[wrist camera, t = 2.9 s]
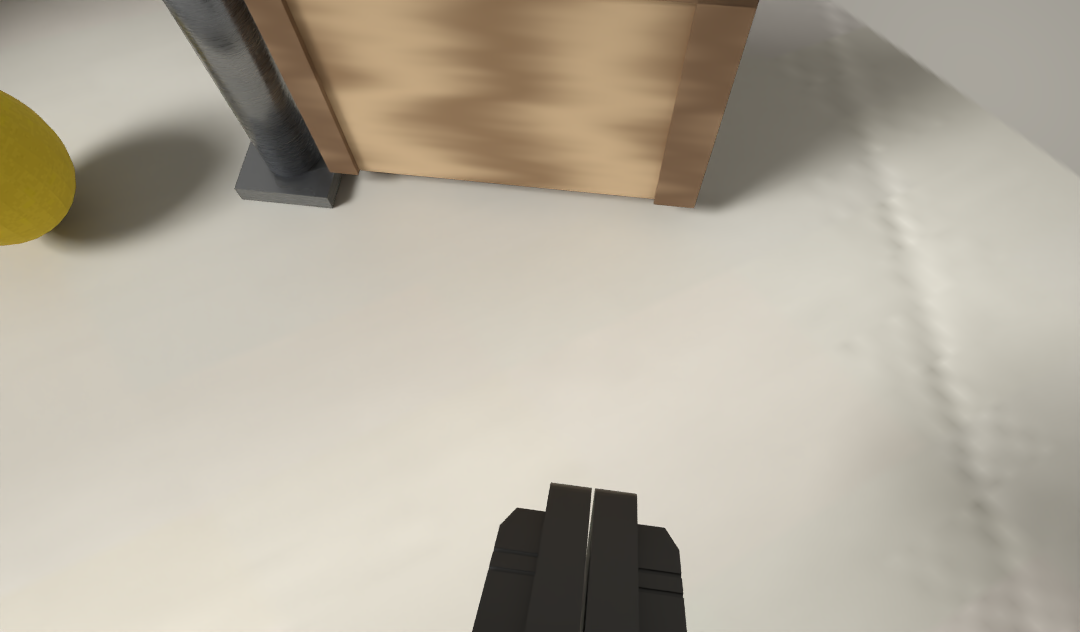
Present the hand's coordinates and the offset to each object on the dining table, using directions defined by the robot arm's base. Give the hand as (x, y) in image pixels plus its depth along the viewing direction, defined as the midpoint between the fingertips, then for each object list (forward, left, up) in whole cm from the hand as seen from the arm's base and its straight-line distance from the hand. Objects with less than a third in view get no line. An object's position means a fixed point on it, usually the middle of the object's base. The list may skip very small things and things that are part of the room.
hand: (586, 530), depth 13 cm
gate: (-4, +15, -12) cm, 20 cm away
